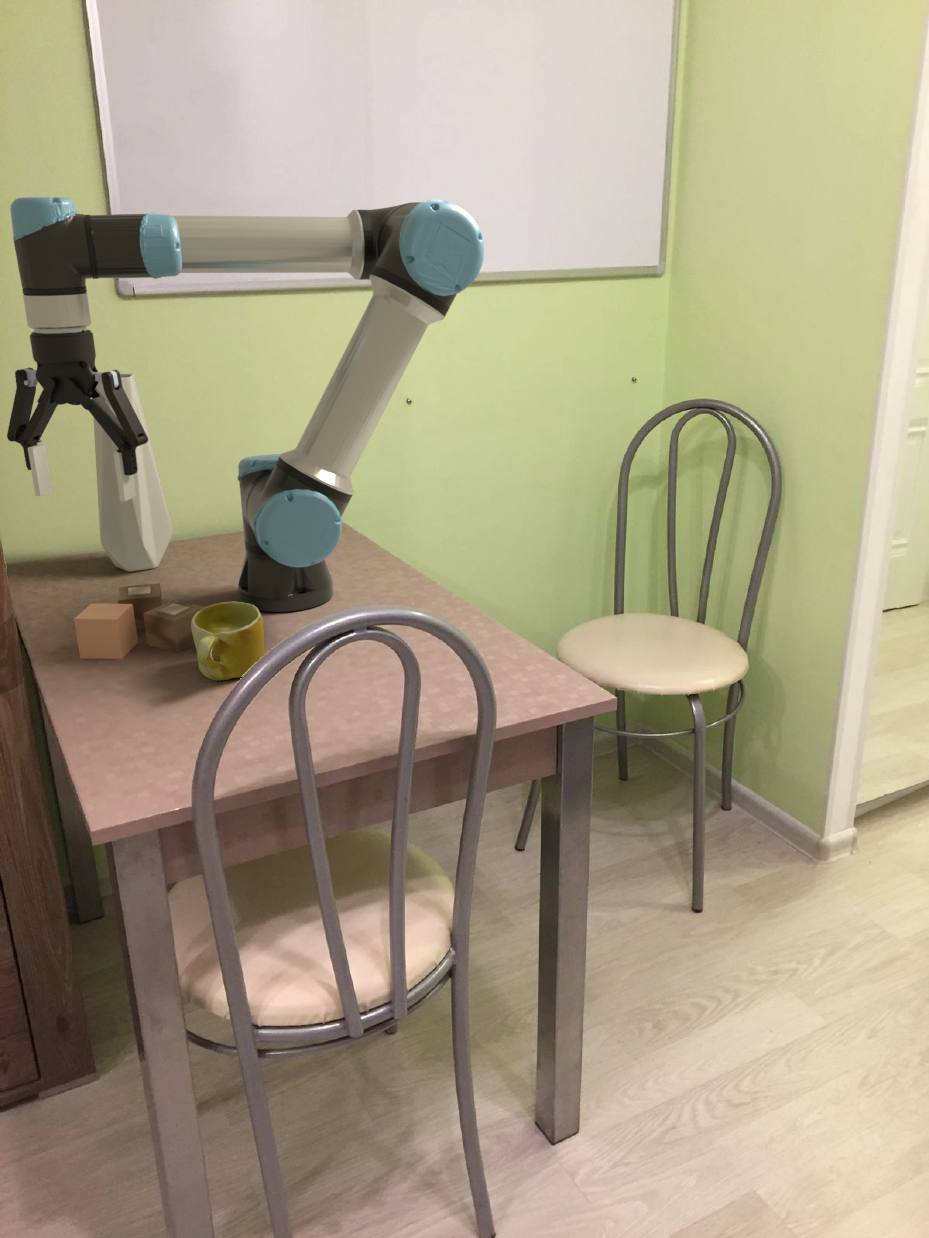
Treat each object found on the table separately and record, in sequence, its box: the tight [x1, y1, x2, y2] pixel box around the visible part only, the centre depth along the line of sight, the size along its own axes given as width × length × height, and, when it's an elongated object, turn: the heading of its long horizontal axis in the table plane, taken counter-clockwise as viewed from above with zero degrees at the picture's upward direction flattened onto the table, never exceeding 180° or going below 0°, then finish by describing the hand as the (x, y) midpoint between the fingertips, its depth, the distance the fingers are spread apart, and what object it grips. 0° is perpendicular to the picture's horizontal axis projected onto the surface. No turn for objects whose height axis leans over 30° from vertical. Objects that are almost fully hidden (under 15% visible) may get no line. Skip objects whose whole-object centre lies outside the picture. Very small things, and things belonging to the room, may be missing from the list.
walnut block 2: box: [143, 599, 206, 653], centre depth 145 cm, size 6×6×5 cm
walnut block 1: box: [117, 582, 164, 631], centre depth 153 cm, size 6×6×5 cm
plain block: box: [73, 602, 139, 660], centre depth 143 cm, size 6×6×6 cm
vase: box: [92, 373, 173, 573], centre depth 174 cm, size 12×12×33 cm
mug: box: [191, 600, 265, 682], centre depth 135 cm, size 12×10×10 cm
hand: (85, 496), depth 136 cm, fingers open, 12 cm apart
